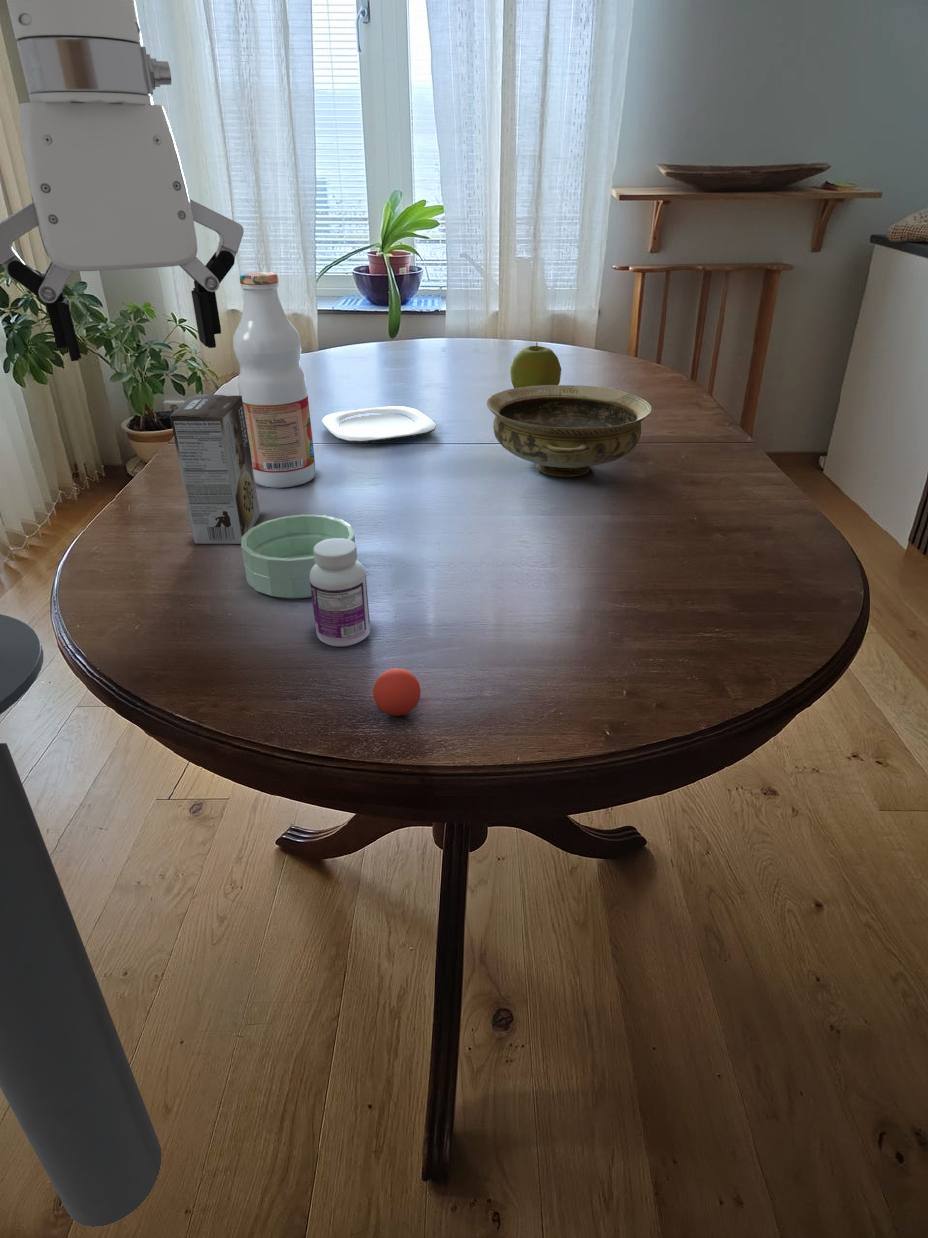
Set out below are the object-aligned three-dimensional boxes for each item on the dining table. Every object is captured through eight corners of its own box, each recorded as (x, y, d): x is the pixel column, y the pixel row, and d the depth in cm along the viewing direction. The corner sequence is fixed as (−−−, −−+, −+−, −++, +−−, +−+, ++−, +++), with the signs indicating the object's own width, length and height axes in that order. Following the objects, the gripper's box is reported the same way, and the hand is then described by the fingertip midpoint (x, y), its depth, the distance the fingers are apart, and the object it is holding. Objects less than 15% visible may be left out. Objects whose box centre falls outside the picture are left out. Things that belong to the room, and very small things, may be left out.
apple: (501, 396, 157) (502, 338, 151) (544, 391, 160) (546, 334, 154) (523, 408, 149) (525, 348, 143) (568, 403, 152) (572, 344, 146)
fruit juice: (239, 478, 117) (206, 274, 103) (290, 462, 123) (266, 267, 109) (277, 494, 111) (249, 280, 97) (329, 476, 117) (309, 272, 103)
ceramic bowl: (649, 509, 106) (658, 436, 101) (473, 500, 109) (473, 429, 104) (639, 441, 131) (646, 380, 126) (497, 435, 134) (498, 375, 129)
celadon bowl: (308, 613, 82) (302, 570, 79) (224, 585, 88) (217, 544, 85) (378, 568, 91) (375, 528, 88) (298, 545, 96) (294, 507, 94)
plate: (315, 423, 141) (314, 413, 140) (410, 411, 147) (409, 402, 146) (342, 452, 127) (341, 442, 126) (446, 438, 133) (446, 428, 132)
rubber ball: (403, 731, 65) (401, 691, 63) (365, 715, 67) (361, 677, 65) (430, 706, 68) (429, 667, 66) (392, 692, 70) (390, 654, 68)
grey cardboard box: (213, 515, 105) (191, 393, 96) (261, 515, 105) (243, 393, 96) (192, 544, 97) (166, 414, 89) (244, 544, 97) (223, 414, 89)
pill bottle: (324, 619, 81) (314, 533, 76) (375, 621, 80) (369, 535, 75) (309, 647, 76) (298, 557, 71) (363, 650, 76) (356, 559, 71)
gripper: (211, 87, 58) (245, 332, 66) (-60, 79, 51) (17, 353, 60) (234, 79, 52) (268, 348, 60) (-70, 69, 45) (18, 373, 54)
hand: (143, 350), depth 60 cm, fingers open, 9 cm apart
